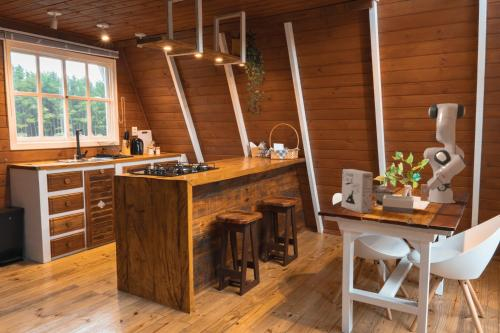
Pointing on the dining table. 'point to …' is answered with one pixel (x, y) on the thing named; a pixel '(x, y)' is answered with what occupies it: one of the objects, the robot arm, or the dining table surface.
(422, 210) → the dining table surface
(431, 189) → the robot arm
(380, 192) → the food container
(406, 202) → the socket box
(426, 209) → the dining table surface
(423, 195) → the peg
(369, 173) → the cereal box
